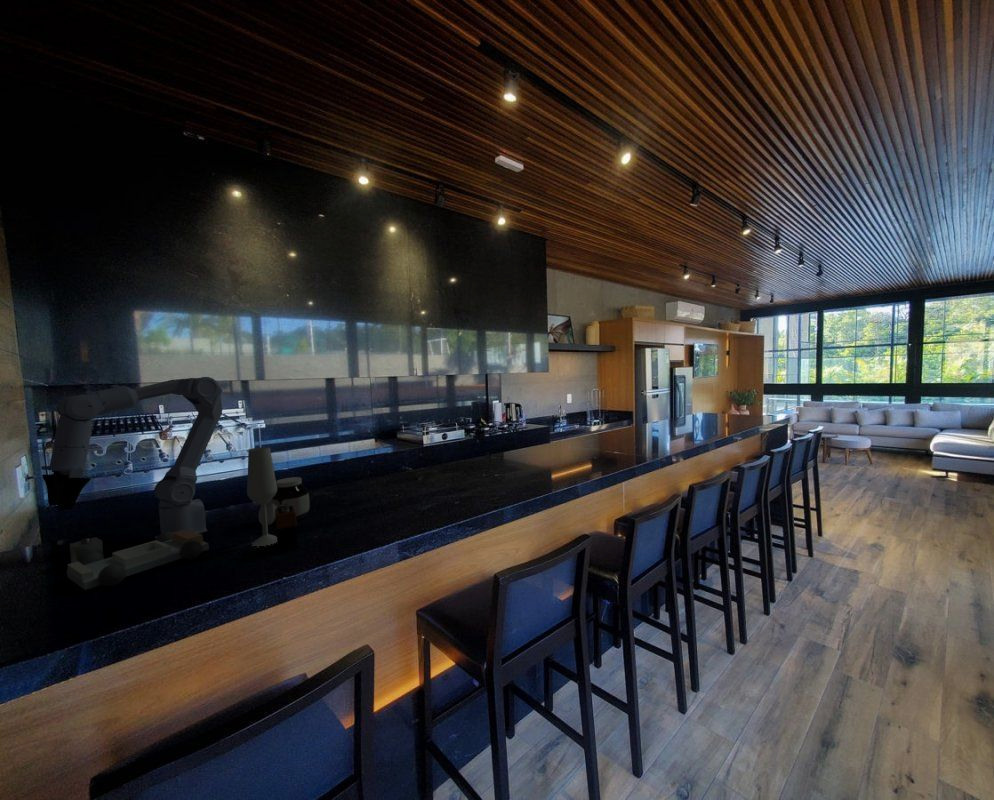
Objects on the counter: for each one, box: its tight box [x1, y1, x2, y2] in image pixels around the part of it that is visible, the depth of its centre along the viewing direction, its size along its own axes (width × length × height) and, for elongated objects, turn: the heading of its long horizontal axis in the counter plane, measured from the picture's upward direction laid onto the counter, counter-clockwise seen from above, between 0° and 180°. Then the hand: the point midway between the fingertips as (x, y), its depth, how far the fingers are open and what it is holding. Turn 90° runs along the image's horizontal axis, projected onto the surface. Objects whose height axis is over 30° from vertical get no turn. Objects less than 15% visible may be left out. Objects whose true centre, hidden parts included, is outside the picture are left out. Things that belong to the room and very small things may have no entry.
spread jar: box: [258, 476, 310, 526], centre depth 121 cm, size 12×11×12 cm
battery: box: [275, 503, 299, 553], centre depth 102 cm, size 4×7×10 cm, turn 30°
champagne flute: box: [246, 446, 277, 548], centre depth 105 cm, size 7×7×24 cm
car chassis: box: [66, 529, 210, 591], centre depth 94 cm, size 22×15×4 cm
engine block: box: [69, 537, 104, 563], centre depth 97 cm, size 4×4×6 cm
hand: (60, 507), depth 93 cm, fingers open, 7 cm apart
